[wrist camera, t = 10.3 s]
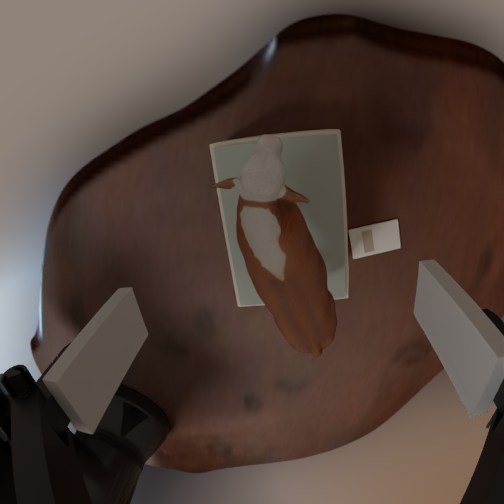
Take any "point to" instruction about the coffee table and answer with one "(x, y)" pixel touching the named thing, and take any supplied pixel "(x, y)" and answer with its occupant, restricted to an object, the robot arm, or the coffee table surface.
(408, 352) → the coffee table surface
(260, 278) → the bull figurine
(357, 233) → the page
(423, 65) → the coffee table surface
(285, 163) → the plinth
